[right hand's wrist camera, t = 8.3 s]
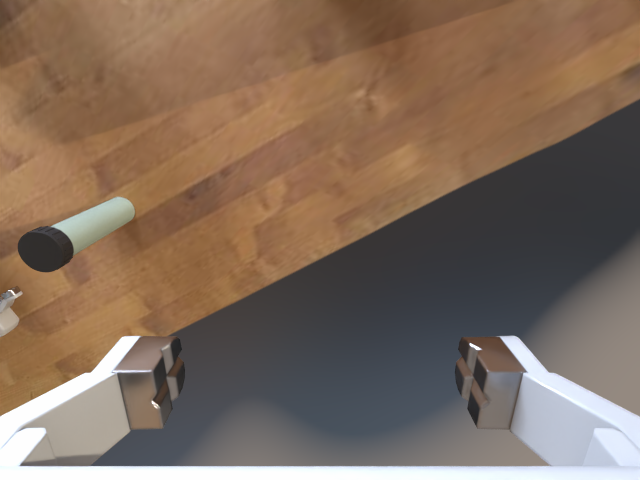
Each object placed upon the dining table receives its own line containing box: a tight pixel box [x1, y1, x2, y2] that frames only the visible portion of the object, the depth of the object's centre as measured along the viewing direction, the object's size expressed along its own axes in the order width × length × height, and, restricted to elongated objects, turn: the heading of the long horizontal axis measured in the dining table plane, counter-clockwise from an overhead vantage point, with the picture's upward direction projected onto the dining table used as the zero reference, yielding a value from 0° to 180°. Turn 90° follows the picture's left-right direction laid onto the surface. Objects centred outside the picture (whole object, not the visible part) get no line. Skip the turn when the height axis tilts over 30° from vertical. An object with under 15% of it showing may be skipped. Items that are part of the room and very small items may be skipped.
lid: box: [18, 226, 74, 272], centre depth 42 cm, size 5×5×2 cm
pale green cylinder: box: [50, 197, 135, 255], centre depth 50 cm, size 4×4×18 cm
